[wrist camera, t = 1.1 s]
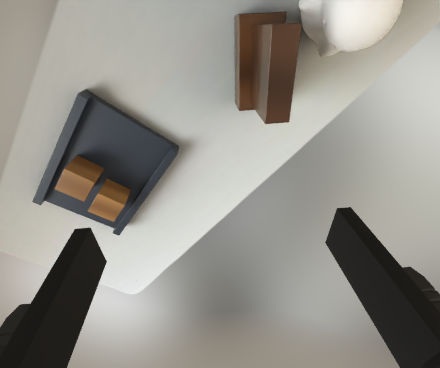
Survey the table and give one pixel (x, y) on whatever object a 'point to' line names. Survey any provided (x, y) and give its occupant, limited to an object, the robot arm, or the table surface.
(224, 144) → the table surface
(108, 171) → the tray
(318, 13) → the figurine
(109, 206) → the cork cube
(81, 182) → the cork cube
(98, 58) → the table surface
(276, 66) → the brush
